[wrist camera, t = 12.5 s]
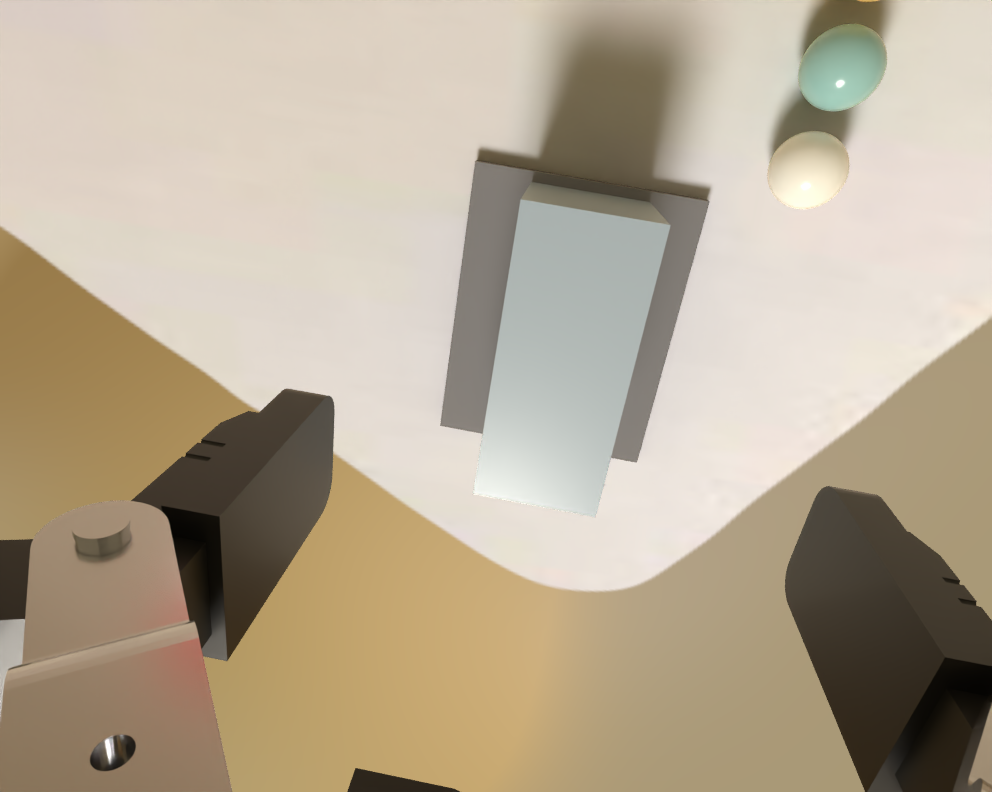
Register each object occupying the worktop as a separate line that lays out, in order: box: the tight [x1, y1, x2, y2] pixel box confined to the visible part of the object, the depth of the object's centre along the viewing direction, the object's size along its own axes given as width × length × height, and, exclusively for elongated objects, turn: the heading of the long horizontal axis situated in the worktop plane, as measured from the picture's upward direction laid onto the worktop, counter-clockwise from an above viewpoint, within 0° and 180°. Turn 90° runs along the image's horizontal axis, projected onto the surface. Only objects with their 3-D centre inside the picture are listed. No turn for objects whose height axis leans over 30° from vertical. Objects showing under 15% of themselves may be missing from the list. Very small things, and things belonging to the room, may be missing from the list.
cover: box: [473, 182, 671, 517], centre depth 30 cm, size 13×6×7 cm, turn 171°
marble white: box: [767, 131, 849, 209], centre depth 28 cm, size 3×3×3 cm
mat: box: [440, 161, 709, 462], centre depth 33 cm, size 14×11×1 cm
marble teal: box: [798, 23, 887, 111], centre depth 27 cm, size 3×3×3 cm
